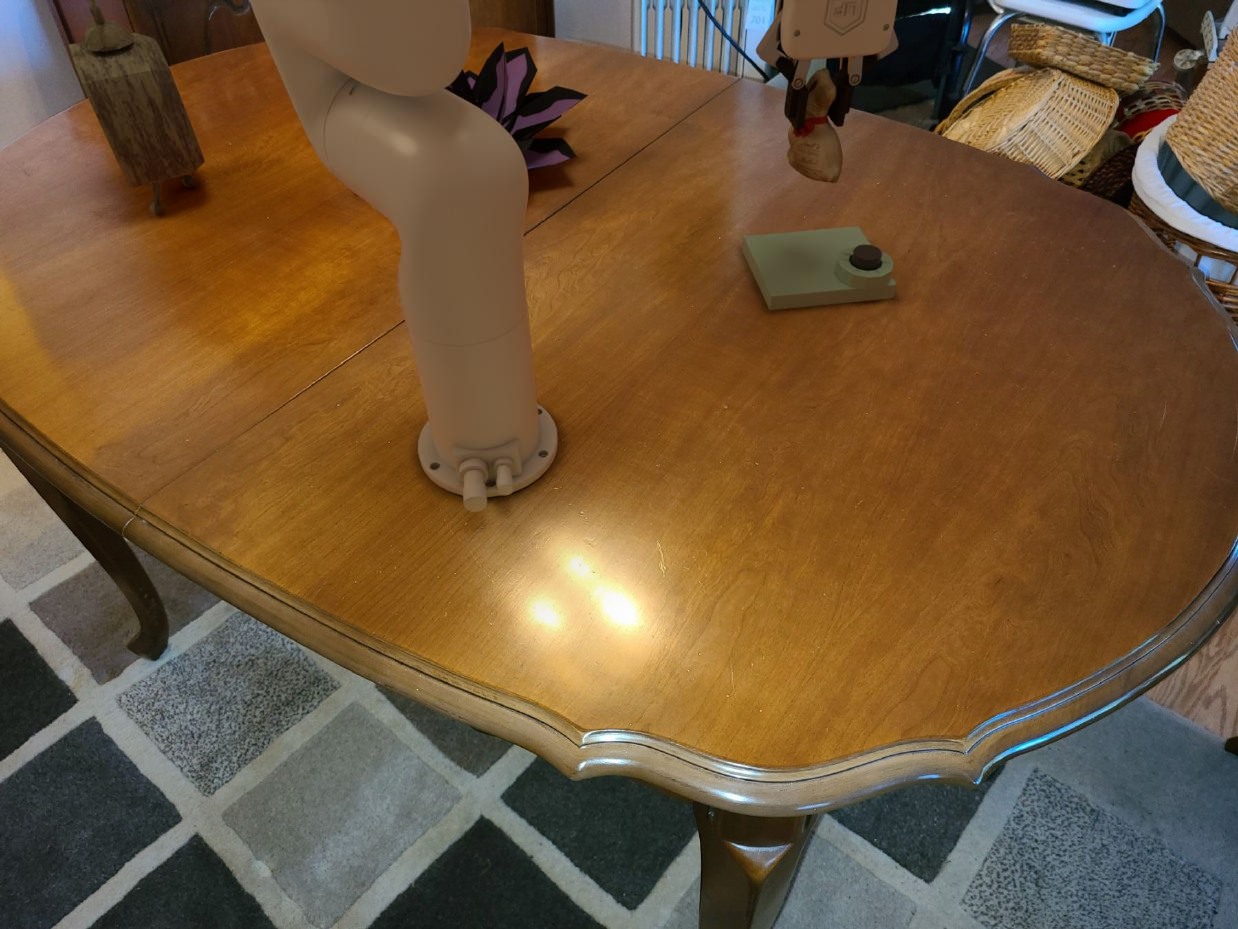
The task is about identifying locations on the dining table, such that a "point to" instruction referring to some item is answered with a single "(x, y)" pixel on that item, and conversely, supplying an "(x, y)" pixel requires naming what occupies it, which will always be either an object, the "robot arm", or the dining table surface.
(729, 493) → the dining table surface
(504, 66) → the decorative flower
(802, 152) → the chocolate bunny
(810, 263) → the scale
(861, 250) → the button
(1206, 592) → the dining table surface
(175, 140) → the tabletop clock
